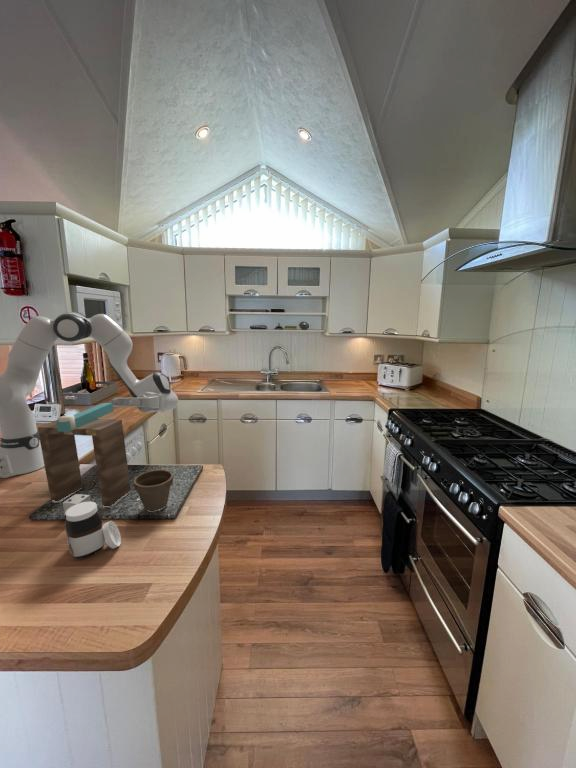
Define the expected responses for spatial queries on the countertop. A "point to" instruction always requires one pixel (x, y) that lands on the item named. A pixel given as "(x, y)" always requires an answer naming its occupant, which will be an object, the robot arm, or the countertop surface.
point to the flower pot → (154, 488)
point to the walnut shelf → (66, 465)
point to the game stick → (83, 417)
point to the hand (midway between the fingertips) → (119, 402)
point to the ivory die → (75, 501)
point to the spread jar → (88, 531)
